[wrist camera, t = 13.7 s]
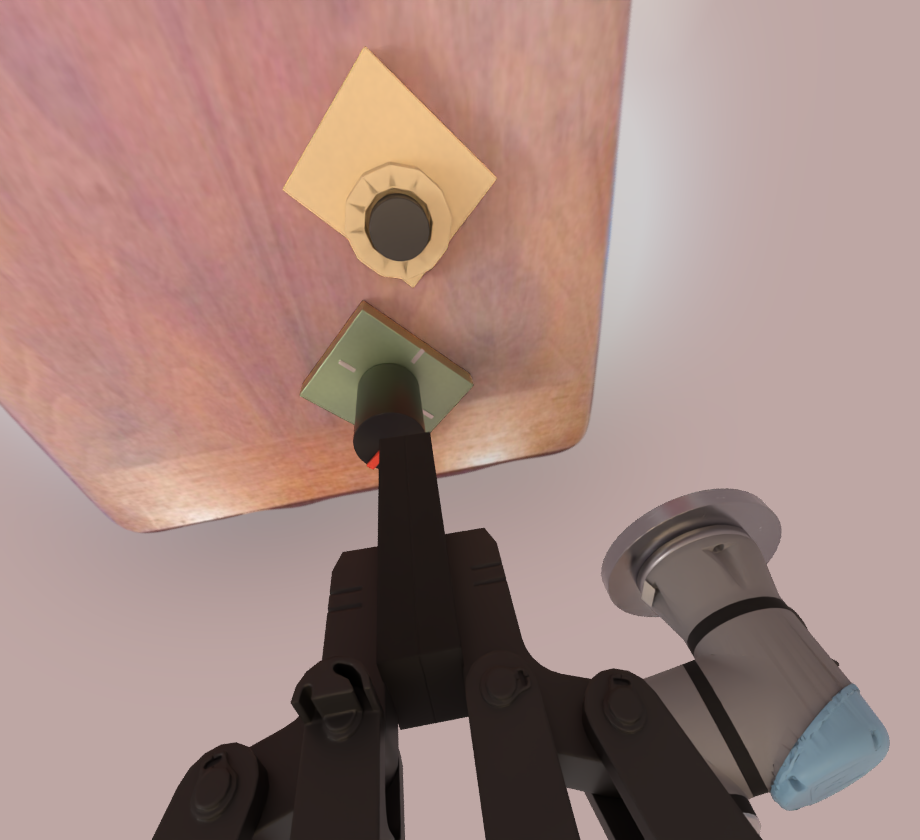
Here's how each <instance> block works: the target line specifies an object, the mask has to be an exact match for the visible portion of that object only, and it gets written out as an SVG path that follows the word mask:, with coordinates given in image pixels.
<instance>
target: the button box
mask: <svg viewBox="0 0 920 840" xmlns="http://www.w3.org/2000/svg"><path fill="white" fill-rule="evenodd" d="M496 179H497V177H496V176H495V175H494V174H493V173H492V172H491V171H490V170H489V169H488V168H487V167H486V166H485V165H484V164H483V163H482V162H481V161H480V160H479V159H478V158H477V157H476V156H475V155H474V154H473V153H472V152H471V151H470V150H469V149H468V148H467V147H466V146H465V145H464V144H463V143H462V142H461V141H460V140H459V139H458V138H457V137H456V136H455V135H454V134H453V133H452V132H451V131H450V130H449V129H448V128H447V127H446V126H445V125H444V124H443V123H442V122H441V121H440V120H439V119H438V118H437V117H436V116H435V115H434V114H433V113H432V112H431V111H430V110H429V109H428V108H427V107H426V106H425V105H424V104H423V103H422V102H421V101H420V100H419V99H418V98H417V97H416V96H415V95H414V94H413V93H412V92H411V91H410V90H409V89H408V88H407V87H406V86H405V85H404V84H403V83H402V82H401V81H400V80H399V79H398V78H397V77H396V76H395V75H394V74H393V73H392V72H391V71H390V70H389V69H388V68H387V67H386V66H385V65H384V64H383V63H382V62H381V61H380V60H379V59H378V58H377V57H376V56H375V55H374V54H373V53H372V52H371V51H370V50H369V49H368V48H367V47H364V48H363V49H362V51H361V53H360V55H359V56H358V58H357V60H356V62H355V63H354V65H353V67H352V69H351V70H350V72H349V74H348V76H347V77H346V79H345V81H344V83H343V84H342V86H341V88H340V90H339V91H338V93H337V95H336V97H335V98H334V100H333V102H332V104H331V105H330V107H329V109H328V111H327V112H326V114H325V116H324V118H323V119H322V121H321V123H320V125H319V126H318V128H317V130H316V132H315V133H314V135H313V137H312V139H311V140H310V142H309V144H308V146H307V147H306V149H305V151H304V153H303V154H302V156H301V158H300V159H299V161H298V163H297V165H296V166H295V168H294V170H293V172H292V173H291V175H290V177H289V179H288V180H287V182H286V184H285V186H284V187H283V191H284V192H286V193H287V194H288V195H290V196H291V197H292V198H294V199H295V200H296V201H298V202H299V203H300V204H302V205H303V206H304V207H306V208H307V209H308V210H310V211H311V212H312V213H314V214H315V215H316V216H318V217H319V218H320V219H322V220H323V221H324V222H326V223H327V224H328V225H330V226H331V227H332V228H334V229H335V230H336V231H338V232H339V233H340V234H342V235H343V236H344V237H346V238H347V239H348V240H349V242H350V244H351V247H352V249H353V251H354V253H355V255H356V257H357V259H358V260H359V261H361V262H362V263H363V264H365V265H366V266H368V267H369V268H370V269H372V270H373V271H374V272H376V273H377V274H378V275H380V276H383V277H391V278H398V279H402V280H403V281H404V282H406V283H407V284H408V285H410V286H411V287H412V288H414V287H415V285H416V284H417V283H418V281H419V280H420V279H421V278H422V276H423V275H424V274H425V272H427V271H429V270H431V269H432V268H433V267H434V266H435V264H436V263H437V262H438V260H439V259H440V258H441V256H442V255H443V254H444V253H445V251H446V250H447V248H448V243H449V241H450V240H451V238H452V237H453V236H454V234H455V233H456V232H457V230H458V229H459V228H460V227H461V225H462V224H463V223H464V221H465V220H466V219H467V217H468V216H469V215H470V213H471V212H472V211H473V210H474V208H475V207H476V206H477V204H478V203H479V202H480V200H481V199H482V198H483V196H484V195H485V194H486V193H487V191H488V190H489V189H490V187H491V186H492V185H493V183H494V182H495V181H496ZM393 193H401V194H405V195H408V196H410V197H412V198H413V199H415V200H416V201H417V202H418V203H419V204H420V205H421V207H422V208H423V210H424V212H425V214H426V216H427V219H428V222H429V227H430V234H429V240H428V243H427V245H426V247H425V248H424V250H423V251H422V252H421V253H420V254H419V255H418V256H417V257H415V258H413V259H411V260H408V261H393V260H390V259H388V258H386V257H384V256H383V255H382V254H380V253H379V252H378V250H377V249H376V248H375V247H374V245H373V243H372V241H371V238H370V234H369V221H370V215H371V211H372V209H373V207H374V205H375V204H376V203H377V202H378V201H379V200H380V199H381V198H383V197H384V196H386V195H389V194H393Z"/></svg>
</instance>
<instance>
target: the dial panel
mask: <svg viewBox="0 0 920 840" xmlns="http://www.w3.org/2000/svg"><path fill="white" fill-rule="evenodd" d="M381 364H396V365H400V366H402V367H404V368H406V369H408V370H409V371H410V372H411V373H412V374H413V375H414V376H415V377H416V379H417V381H418V384H419V389H420V396H421V403H422V410H423V417H424V424H425V431H426V432H431V431H432V430H433V429H434V428H435V427H436V426H437V425H438V424H439V423H440V422H441V420H442V419H443V418H444V417H445V416H446V415H447V414H448V413H449V412H450V411H451V410H452V408H453V407H454V406H455V405H456V404H457V403H458V402H459V401H460V400H461V399H462V398H463V396H464V395H465V394H466V393H467V392H468V391H469V390H470V389H471V388H472V387H473V385H474V384H473V381H472V378H471V375H470V374H469V373H468V372H466V371H465V370H464V369H462V368H461V367H459V366H458V365H456V364H455V363H453V362H452V361H451V360H449V359H448V358H446V357H445V356H443V355H442V354H440V353H439V352H438V351H436V350H435V349H433V348H432V347H430V346H429V345H427V344H426V343H424V342H423V341H422V340H420V339H419V338H417V337H416V336H414V335H413V334H411V333H410V332H409V331H407V330H406V329H404V328H403V327H401V326H400V325H398V324H397V323H396V322H394V321H393V320H391V319H390V318H388V317H387V316H385V315H384V314H382V313H381V312H380V311H378V310H377V309H375V308H374V307H372V306H371V305H369V304H368V303H367V302H365V301H362V302H361V303H360V305H359V306H358V307H357V309H356V310H355V312H354V313H353V314H352V316H351V317H350V319H349V320H348V321H347V323H346V324H345V325H344V327H343V328H342V330H341V331H340V332H339V334H338V335H337V337H336V338H335V339H334V341H333V342H332V343H331V345H330V346H329V348H328V349H327V350H326V352H325V353H324V355H323V356H322V357H321V359H320V360H319V361H318V363H317V364H316V366H315V367H314V368H313V370H312V371H311V373H310V374H309V375H308V377H307V378H306V380H305V381H304V382H303V384H302V388H301V391H300V396H301V397H303V398H305V399H307V400H308V401H310V402H312V403H314V404H316V405H318V406H320V407H322V408H323V409H325V410H327V411H329V412H331V413H333V414H335V415H337V416H338V417H340V418H342V419H344V420H346V421H348V422H350V423H352V424H353V425H355V413H356V401H357V389H358V383H359V381H360V379H361V377H362V376H363V374H364V373H365V372H366V371H368V370H369V369H371V368H372V367H375V366H377V365H381Z"/></svg>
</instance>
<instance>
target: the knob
mask: <svg viewBox="0 0 920 840" xmlns="http://www.w3.org/2000/svg"><path fill="white" fill-rule="evenodd" d="M424 432H426V431H425V424H424V417H423V410H422V403H421V396H420V389H419V384H418V381H417V379H416V377H415V376H414V375H413V374H412V373H411V372H410V371H409V370H408V369H406V368H404V367H402V366H400V365H396V364H381V365H377V366H375V367H372V368H371V369H369V370H368V371H366V372H365V373H364V374H363V376H362V377H361V379H360V381H359V383H358V389H357V401H356V413H355V426H354V438H353V445H354V449H355V451H356V453H357V455H358V456H359V458H360V459H361V460H362V461H364V462H365V463H366V464H367V467H369V468H371V469H374V468H378V469H379V439H384V438H390V437H397V436H404V435H411V434H418V433H424Z"/></svg>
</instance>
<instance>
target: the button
mask: <svg viewBox="0 0 920 840" xmlns="http://www.w3.org/2000/svg"><path fill="white" fill-rule="evenodd" d="M369 234H370V238H371V241H372V243H373V245H374V247H375V248H376V249H377V250H378V252H379V253H380V254H382V255H383V256H384V257H386V258H388V259H390V260H393V261H408V260H411V259H413V258H415V257H417V256H418V255H419V254H420V253H421V252H422V251H423V250H424V248H425V247H426V245H427V243H428V240H429V234H430V227H429V222H428V219H427V216H426V214H425V212H424V210H423V208H422V207H421V205H420V204H419V203H418V202H417V201H416V200H415V199H413V198H412V197H410V196H408V195H405V194H401V193H393V194H389V195H386V196H384V197H383V198H381V199H380V200H379V201H378V202H377V203H376V204H375V205H374V207H373V209H372V211H371V215H370V221H369Z"/></svg>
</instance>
